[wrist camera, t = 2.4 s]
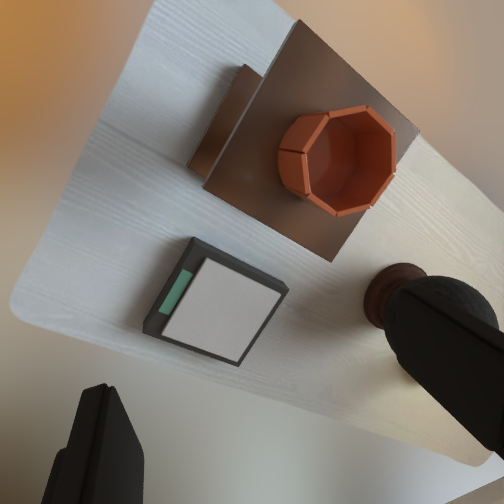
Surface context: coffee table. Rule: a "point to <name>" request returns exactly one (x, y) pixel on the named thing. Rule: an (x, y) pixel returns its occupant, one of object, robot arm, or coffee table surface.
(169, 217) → the coffee table surface
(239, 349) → the scale
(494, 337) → the robot arm
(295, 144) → the bowl
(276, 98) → the stand
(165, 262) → the coffee table surface
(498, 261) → the coffee table surface
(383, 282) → the black orb ornament
